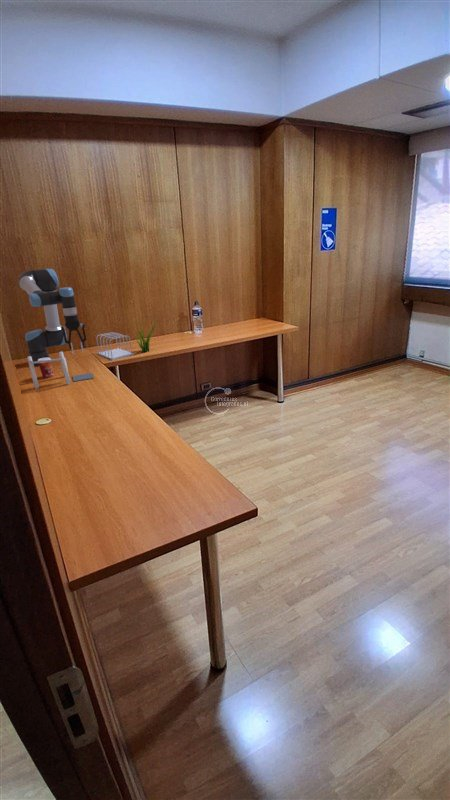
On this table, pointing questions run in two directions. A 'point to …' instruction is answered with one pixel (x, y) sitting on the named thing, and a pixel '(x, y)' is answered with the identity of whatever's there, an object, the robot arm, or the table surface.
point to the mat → (83, 377)
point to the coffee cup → (46, 368)
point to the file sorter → (114, 353)
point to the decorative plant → (145, 343)
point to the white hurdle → (62, 359)
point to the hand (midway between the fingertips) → (78, 353)
